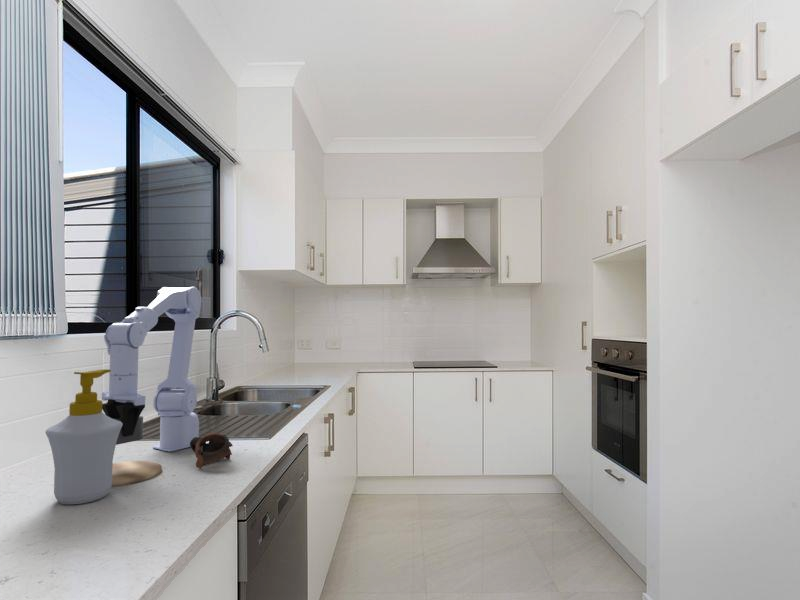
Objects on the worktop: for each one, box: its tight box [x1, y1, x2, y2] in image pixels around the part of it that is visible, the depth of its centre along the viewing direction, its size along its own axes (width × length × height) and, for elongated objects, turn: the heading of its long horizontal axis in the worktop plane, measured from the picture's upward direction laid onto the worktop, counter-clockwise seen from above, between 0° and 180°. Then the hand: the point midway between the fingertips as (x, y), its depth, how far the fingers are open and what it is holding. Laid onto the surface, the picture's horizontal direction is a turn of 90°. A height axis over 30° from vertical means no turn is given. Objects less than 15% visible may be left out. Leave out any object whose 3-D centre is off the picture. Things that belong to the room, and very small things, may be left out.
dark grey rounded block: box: [115, 415, 144, 446], centre depth 111 cm, size 12×4×5 cm, turn 149°
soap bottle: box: [45, 369, 123, 505], centre depth 96 cm, size 13×13×25 cm
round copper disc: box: [111, 460, 163, 487], centre depth 110 cm, size 16×16×1 cm
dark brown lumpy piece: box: [190, 432, 234, 470], centre depth 118 cm, size 12×10×8 cm
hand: (121, 434), depth 112 cm, fingers closed on dark grey rounded block, 4 cm apart
